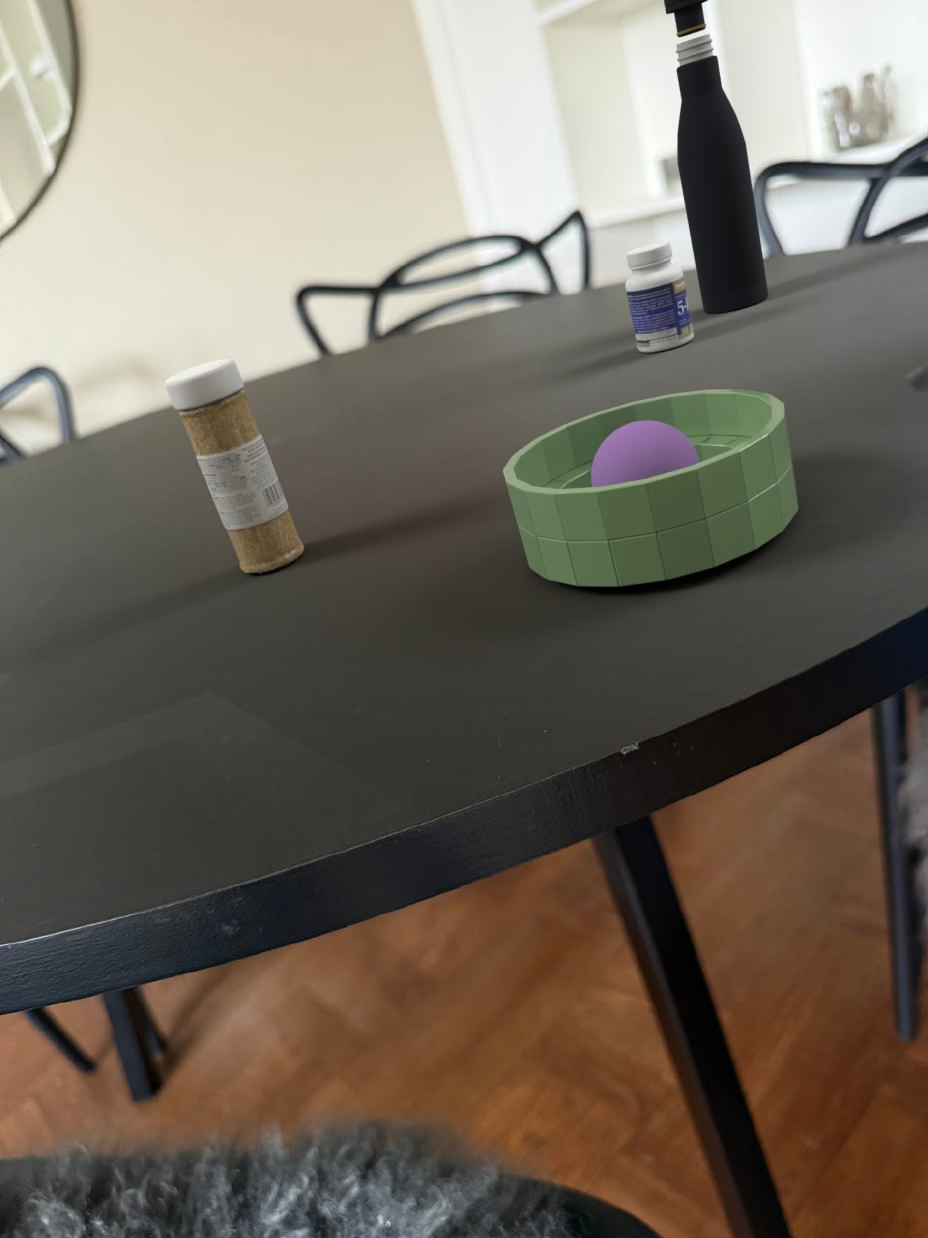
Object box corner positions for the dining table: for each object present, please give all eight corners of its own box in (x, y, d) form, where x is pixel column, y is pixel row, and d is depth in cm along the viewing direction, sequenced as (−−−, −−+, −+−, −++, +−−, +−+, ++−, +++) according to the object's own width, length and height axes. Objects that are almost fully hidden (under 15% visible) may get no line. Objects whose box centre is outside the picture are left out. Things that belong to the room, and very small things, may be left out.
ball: (652, 499, 56) (631, 404, 54) (732, 507, 51) (712, 404, 49) (583, 541, 53) (557, 443, 51) (661, 553, 49) (637, 446, 47)
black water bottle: (745, 310, 96) (688, -43, 84) (691, 316, 101) (630, -17, 89) (781, 291, 100) (732, -52, 87) (727, 297, 104) (673, -27, 92)
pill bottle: (696, 343, 90) (677, 242, 86) (638, 357, 91) (618, 259, 87) (693, 331, 94) (676, 235, 91) (638, 345, 96) (619, 251, 92)
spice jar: (273, 547, 70) (200, 361, 64) (319, 546, 67) (247, 351, 62) (228, 577, 67) (147, 384, 61) (275, 577, 64) (195, 375, 59)
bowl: (649, 475, 61) (631, 389, 59) (857, 492, 50) (844, 387, 48) (478, 574, 55) (450, 481, 53) (674, 619, 44) (649, 504, 41)
